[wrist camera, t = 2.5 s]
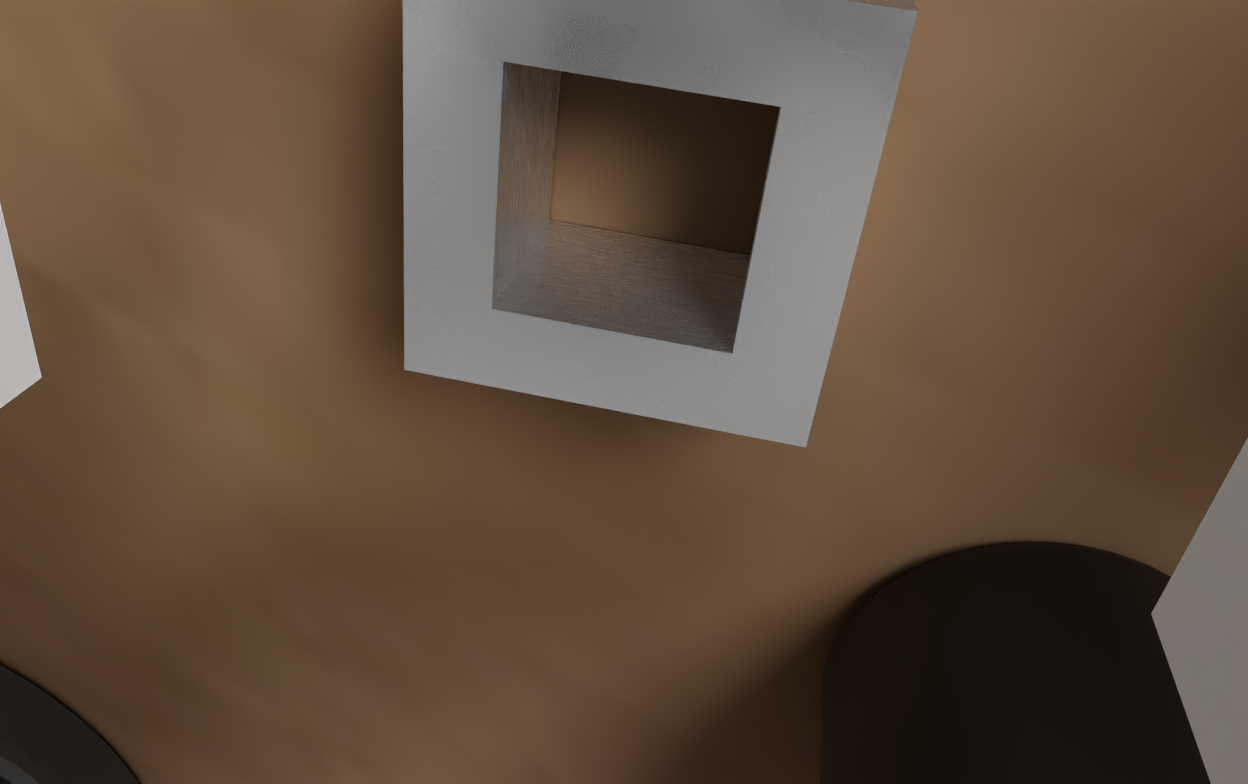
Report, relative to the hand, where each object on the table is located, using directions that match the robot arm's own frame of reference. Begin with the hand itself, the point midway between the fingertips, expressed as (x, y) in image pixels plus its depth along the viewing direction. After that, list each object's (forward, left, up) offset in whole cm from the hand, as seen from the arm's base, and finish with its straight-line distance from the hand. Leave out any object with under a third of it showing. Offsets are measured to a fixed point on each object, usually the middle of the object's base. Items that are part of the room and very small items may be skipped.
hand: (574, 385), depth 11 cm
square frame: (0, 0, -9) cm, 9 cm away
